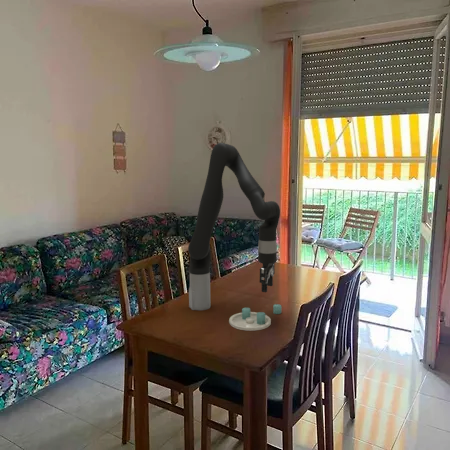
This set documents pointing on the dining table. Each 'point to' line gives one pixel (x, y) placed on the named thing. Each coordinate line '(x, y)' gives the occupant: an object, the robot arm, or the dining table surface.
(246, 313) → the bead
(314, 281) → the dining table surface
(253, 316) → the groove dish
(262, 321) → the bead
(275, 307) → the bead
